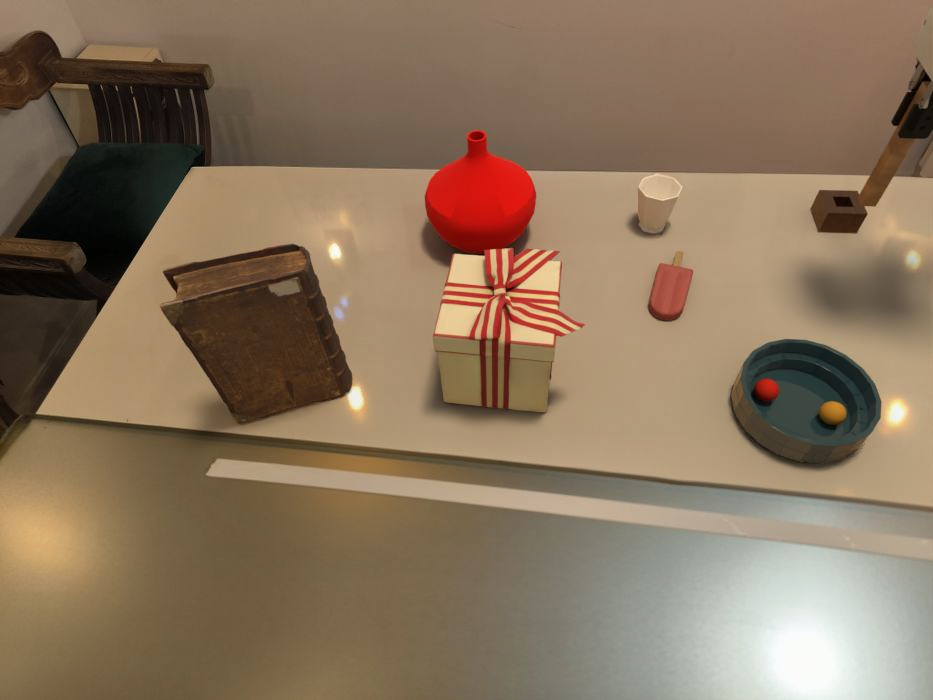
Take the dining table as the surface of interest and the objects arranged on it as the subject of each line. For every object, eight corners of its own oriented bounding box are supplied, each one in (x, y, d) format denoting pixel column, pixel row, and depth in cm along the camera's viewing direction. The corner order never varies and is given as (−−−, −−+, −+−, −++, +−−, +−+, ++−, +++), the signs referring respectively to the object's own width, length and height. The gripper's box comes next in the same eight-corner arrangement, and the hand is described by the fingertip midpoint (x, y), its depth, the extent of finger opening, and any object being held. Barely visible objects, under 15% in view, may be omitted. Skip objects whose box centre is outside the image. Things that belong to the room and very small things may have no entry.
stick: (872, 198, 80) (940, 81, 68) (875, 206, 79) (945, 90, 67) (857, 197, 81) (922, 81, 68) (861, 206, 79) (927, 89, 67)
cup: (632, 238, 103) (639, 200, 96) (628, 201, 109) (635, 162, 102) (674, 239, 102) (685, 200, 96) (668, 201, 108) (678, 162, 102)
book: (353, 367, 89) (308, 238, 70) (356, 407, 85) (308, 281, 65) (239, 387, 88) (161, 261, 69) (236, 428, 84) (151, 306, 64)
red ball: (772, 387, 82) (780, 374, 80) (776, 406, 80) (784, 393, 78) (749, 386, 82) (756, 373, 80) (753, 405, 80) (760, 392, 78)
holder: (847, 209, 104) (857, 190, 101) (857, 233, 100) (868, 213, 97) (810, 208, 105) (819, 189, 101) (818, 232, 101) (828, 212, 98)
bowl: (844, 364, 84) (860, 342, 80) (879, 470, 74) (899, 450, 70) (722, 358, 86) (732, 336, 82) (740, 460, 76) (753, 440, 72)
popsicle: (698, 251, 98) (682, 317, 89) (695, 258, 99) (680, 324, 90) (664, 244, 99) (646, 309, 91) (662, 251, 100) (644, 316, 92)
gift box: (578, 415, 82) (590, 333, 68) (442, 412, 83) (428, 332, 70) (572, 320, 92) (582, 233, 79) (452, 319, 94) (441, 233, 80)
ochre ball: (837, 410, 79) (847, 397, 77) (843, 430, 77) (853, 417, 75) (812, 408, 79) (822, 396, 77) (818, 428, 78) (827, 415, 75)
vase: (433, 202, 112) (421, 105, 97) (533, 199, 111) (536, 101, 96) (425, 271, 101) (410, 174, 86) (536, 270, 99) (540, 170, 84)
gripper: (1093, -10, 52) (967, 172, 66) (1017, -76, 62) (921, 96, 76) (997, -10, 53) (893, 170, 67) (936, -74, 63) (857, 95, 77)
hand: (908, 130), depth 72 cm, fingers closed on stick, 1 cm apart
